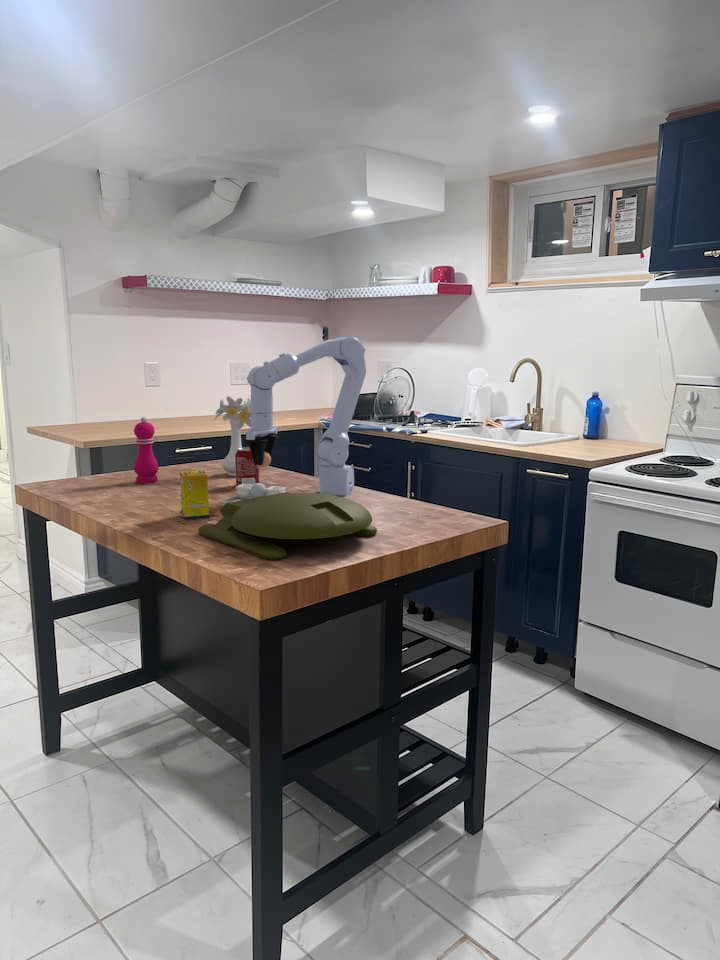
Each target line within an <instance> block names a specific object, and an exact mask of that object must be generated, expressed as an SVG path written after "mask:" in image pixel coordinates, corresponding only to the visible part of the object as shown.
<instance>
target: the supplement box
mask: <svg viewBox="0 0 720 960" xmlns="http://www.w3.org/2000/svg"><path fill="white" fill-rule="evenodd" d="M179 477H180V481H179V482H180V497H181V498H180V499H181V502H180V503H181V515H182V517H184V520H185V519H190V520H199V519H198V518H202V519H209V518H210V509H209V508H210V506H209V503H210V502H209V484H208V483H209V481H208V480H209V479H208V474H207V473H206V472H205V470H193V471H192V470H190V471H189V470H187V471H180V472H179ZM196 518H197V519H196Z"/></svg>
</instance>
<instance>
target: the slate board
mask: <svg viewBox="0 0 720 960" xmlns="http://www.w3.org/2000/svg"><path fill="white" fill-rule="evenodd" d="M266 496H267V494H266ZM251 498H253V497H250V498H248V499H251ZM240 500H246V499H240V498H238V497H237V494H236V495H234V496H232V497H229V498H227V499H224V500H222V501H219V504H226V503H229V502H234V501H240Z"/></svg>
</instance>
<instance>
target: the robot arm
mask: <svg viewBox="0 0 720 960" xmlns="http://www.w3.org/2000/svg"><path fill="white" fill-rule="evenodd" d="M365 353H366V348H365V346H364V345H363V344H362V341H361V340H360V339H358V338H357V337H356V336H348V337H341V336H336V337H334V338H333V339H332V338H330V339H327V340H325V341H322V342H320V343H318V344H315V345H314V346H312V347H310V348H307V349H306V350H304V351H302V352H299V353H298V354H296V355H292V354H290V353H285V352H284V353H281V354H279V355H278V357H276V358H275V359H273V360H270V361H267V360H266V361H264V362H263V365H262V366H254V367H252V368H251V369H250V371H249V372H248V376H247V377H246V380H247V383H248V385H250V400H251V418H250V419H251V427H249V428H247V429H246V433H245V443H246V445H247V447H249V449H250V451H251V454H252V458H253V461H254V465H263V460H264V452H267V453H268V454H269V455H270V457H271V460H272V458H273V453H274V449H275V446H276V444H277V442H278V440H279V435H277V434H278V426H276V425H275V426H274V410H273V409H274V408H273V407H274V405H273V404H274V403H273V399H274V398H273V387H274V386H275V385H276V384H277V383H280V382H282V381H283V380H286V379H288V378H291V377H293V376H295V375H297V374H298V372H299V370H300V369H301V367H303V366H306V365H308V364H311V363H313V362H316V361H318V360H320V359H323V358H325V357H327V358H329V357H330V358H332V359H333V360H334V361H336V362H337V363H338V364H339V366H340V367H341V368H342V371H343V372H344V374H345V375H344V377H343V381H342V385H341V388H340V391H339V394H338V397H337V401H336V403H335V406H334V407H335V408H334V410H333V413H332V417H331V420H330V424H329V427H328V428H327V429H326V430H325V432H323V434H322V437H321V439H320V440H319V441H318V443H317V444H316V446H315V455H316V456H317V458H318V459H319V461H318V470H319V471H318V473H319V474H318V479H319V480H318V489H319V491H318V492H319V493H321V494H329V495H334V496H340V497H347V496H349V495H351V494H353V493H355V492H354V491H355V471H354V467H353V466H352V465H346V462H347V460H348V458H349V454H350V453H349V446H350V439H349V435H348V432H349V429H350V427H351V423H352V419H353V416H354V413H355V410H356V407H357V404H358V400H359V397H360V394H361V391H362V387H363V384H364V381H365V379H366V378H365V377H366V375H367V368H366V361H365V360H366V359H365Z"/></svg>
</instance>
